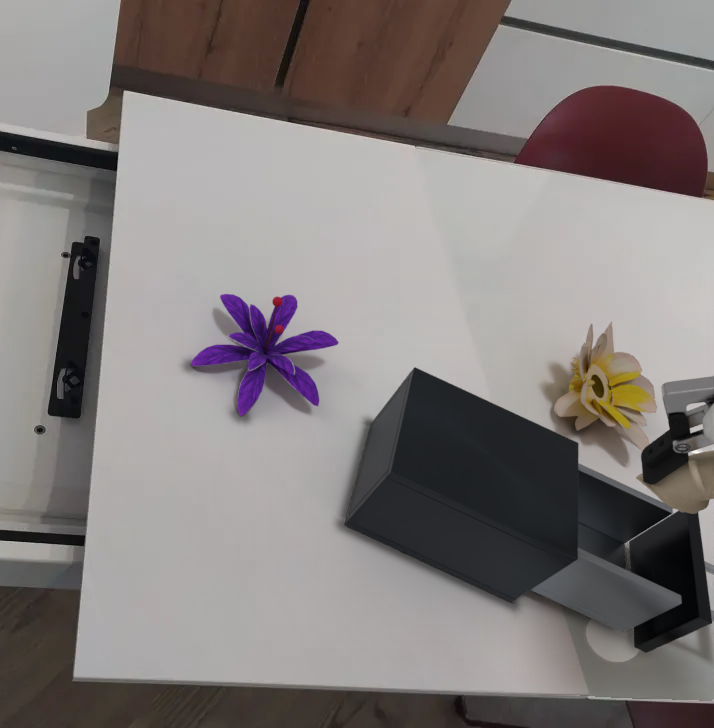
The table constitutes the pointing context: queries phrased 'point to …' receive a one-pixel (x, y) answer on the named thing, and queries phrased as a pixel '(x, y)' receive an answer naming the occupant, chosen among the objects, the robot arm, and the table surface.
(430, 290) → the table surface
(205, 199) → the table surface
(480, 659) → the table surface
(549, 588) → the drawer with silver handle
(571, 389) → the decorative flower
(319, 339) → the decorative flower
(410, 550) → the cabinet
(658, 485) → the decorative ornament
